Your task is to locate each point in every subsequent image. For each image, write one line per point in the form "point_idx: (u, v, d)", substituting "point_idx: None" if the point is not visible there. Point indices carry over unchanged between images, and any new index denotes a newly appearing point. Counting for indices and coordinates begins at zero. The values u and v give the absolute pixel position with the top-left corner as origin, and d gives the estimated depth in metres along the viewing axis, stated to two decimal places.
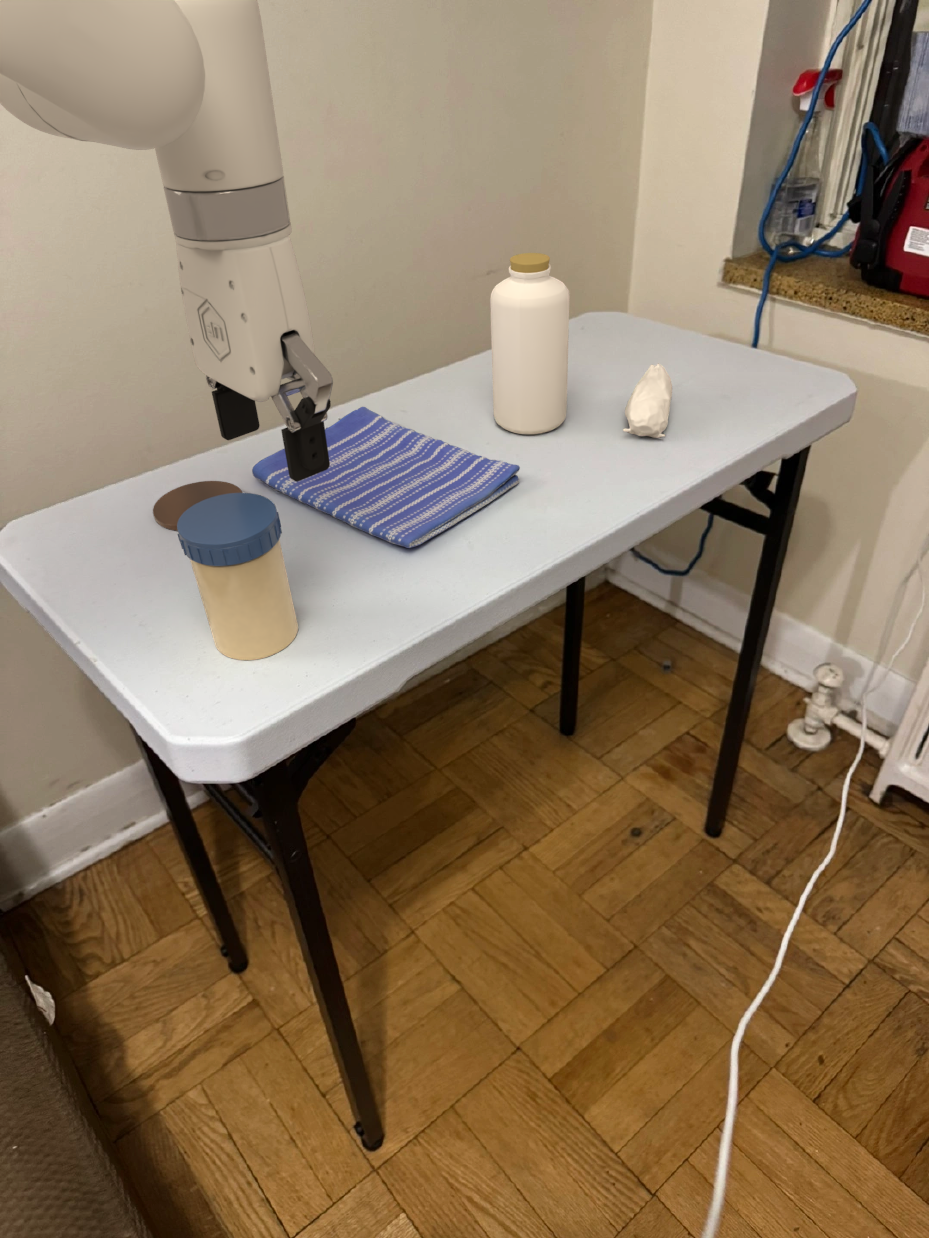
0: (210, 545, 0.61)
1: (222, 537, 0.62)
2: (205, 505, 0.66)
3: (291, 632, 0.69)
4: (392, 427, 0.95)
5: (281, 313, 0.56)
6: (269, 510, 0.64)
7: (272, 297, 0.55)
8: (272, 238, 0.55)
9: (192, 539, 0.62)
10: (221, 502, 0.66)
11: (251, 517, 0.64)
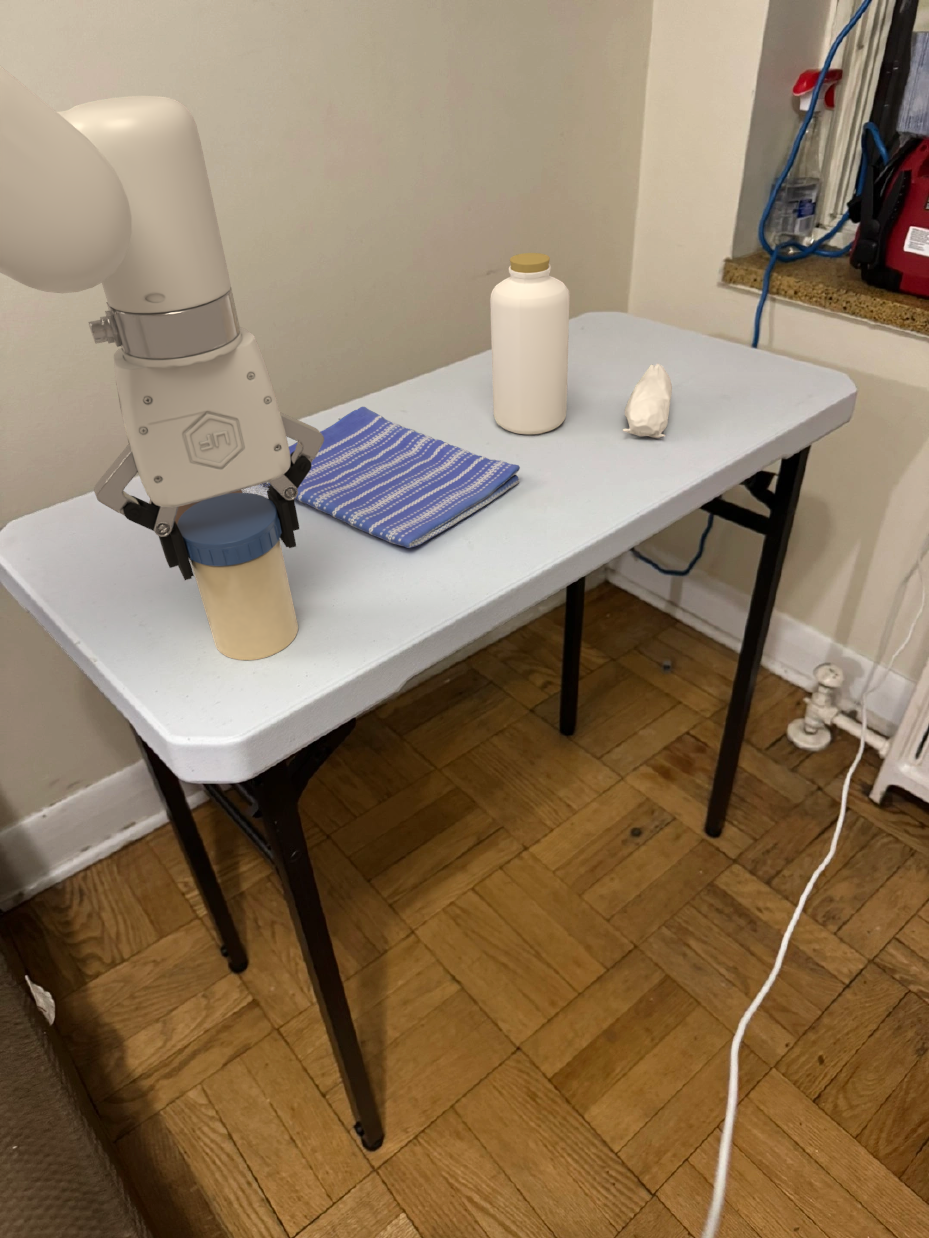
0: (210, 545, 0.61)
1: (222, 537, 0.62)
2: (205, 505, 0.66)
3: (291, 632, 0.69)
4: (392, 427, 0.95)
5: None
6: (269, 510, 0.64)
7: None
8: None
9: (192, 539, 0.62)
10: (221, 502, 0.66)
11: (251, 517, 0.64)
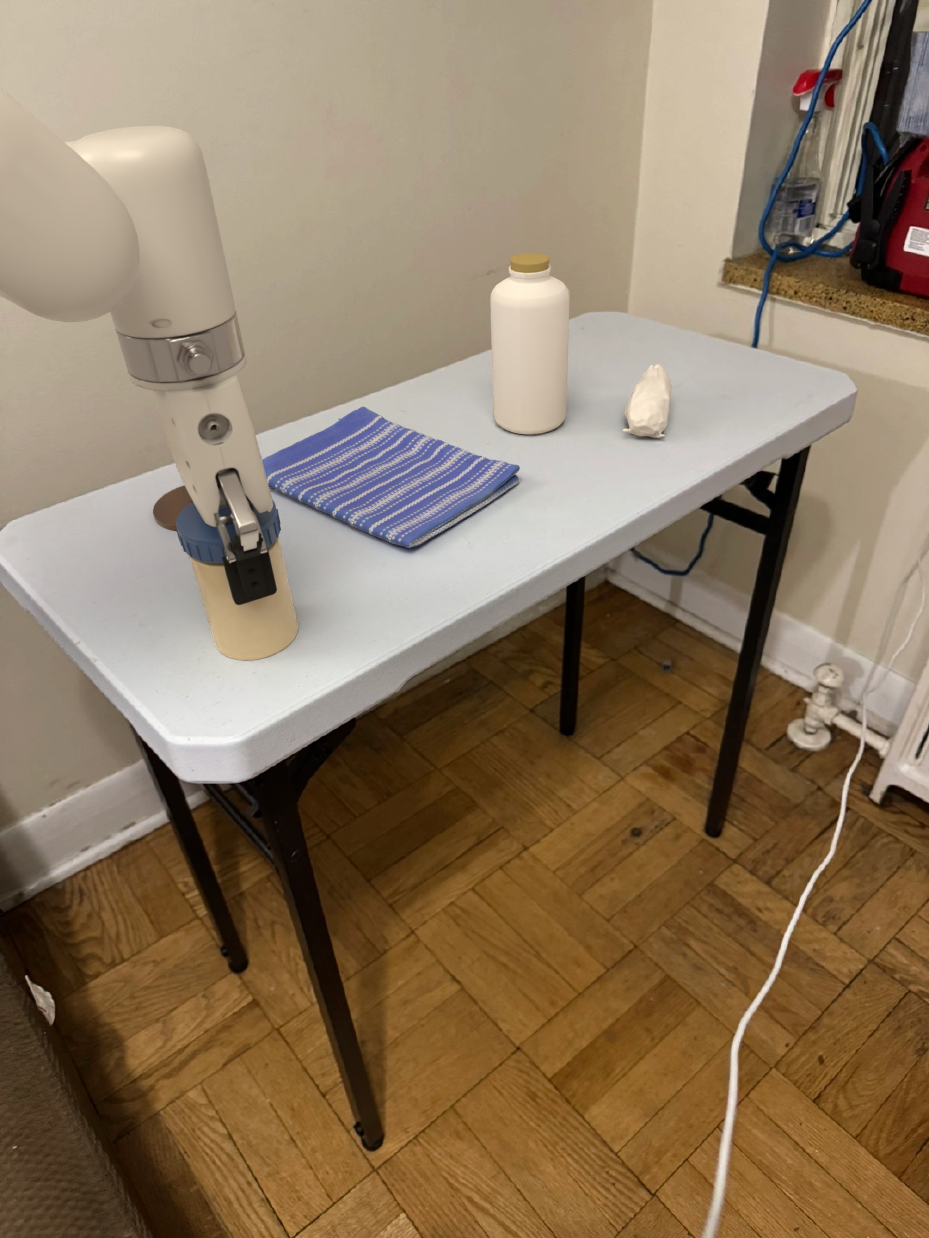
0: (273, 516, 0.63)
1: None
2: (194, 529, 0.62)
3: (291, 632, 0.69)
4: (392, 427, 0.95)
5: None
6: None
7: None
8: None
9: None
10: (193, 521, 0.63)
11: None
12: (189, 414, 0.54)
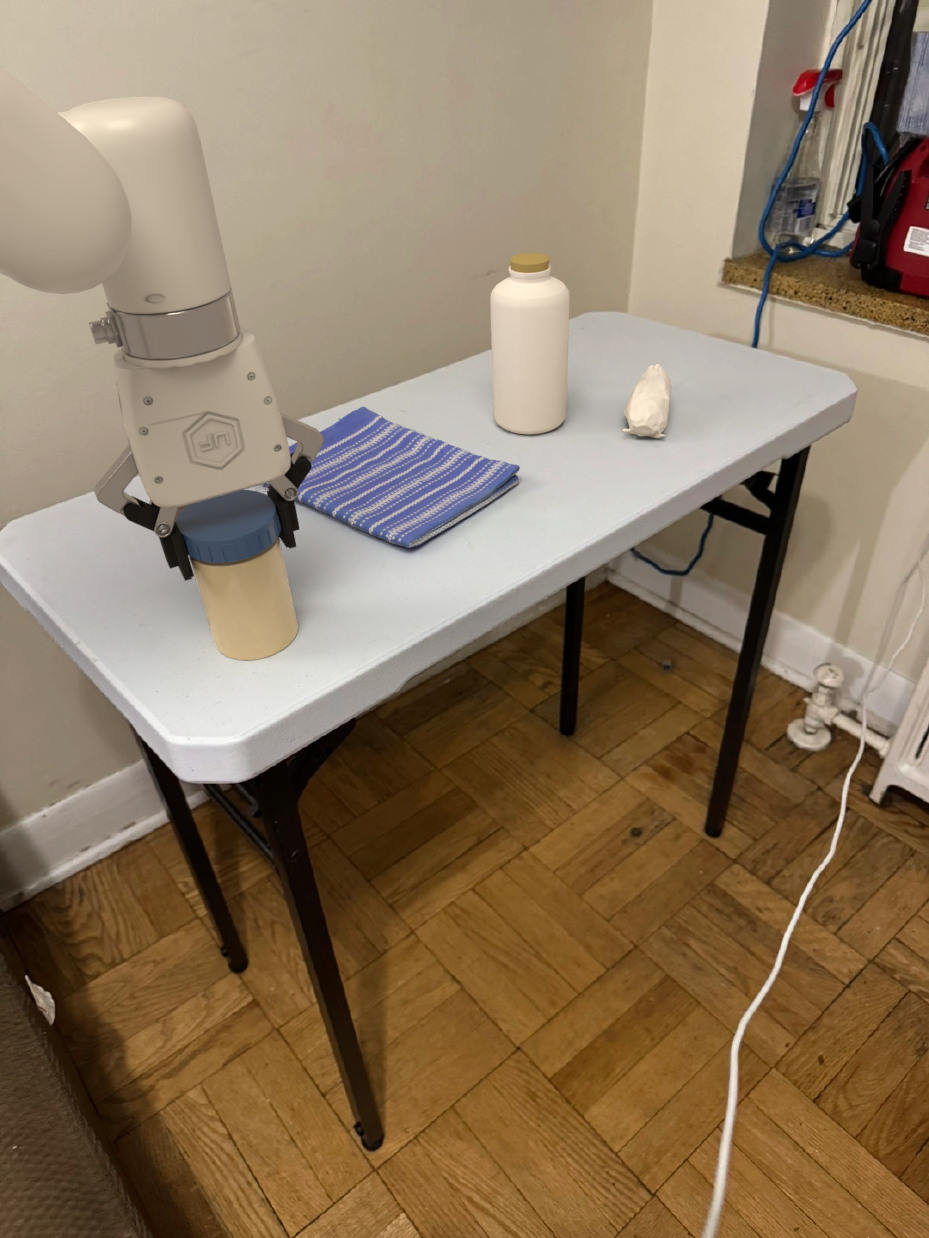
0: (273, 516, 0.63)
1: (264, 510, 0.64)
2: (194, 529, 0.62)
3: (291, 632, 0.69)
4: (392, 427, 0.95)
5: None
6: None
7: None
8: None
9: (259, 526, 0.62)
10: (193, 521, 0.63)
11: (234, 501, 0.65)
12: None
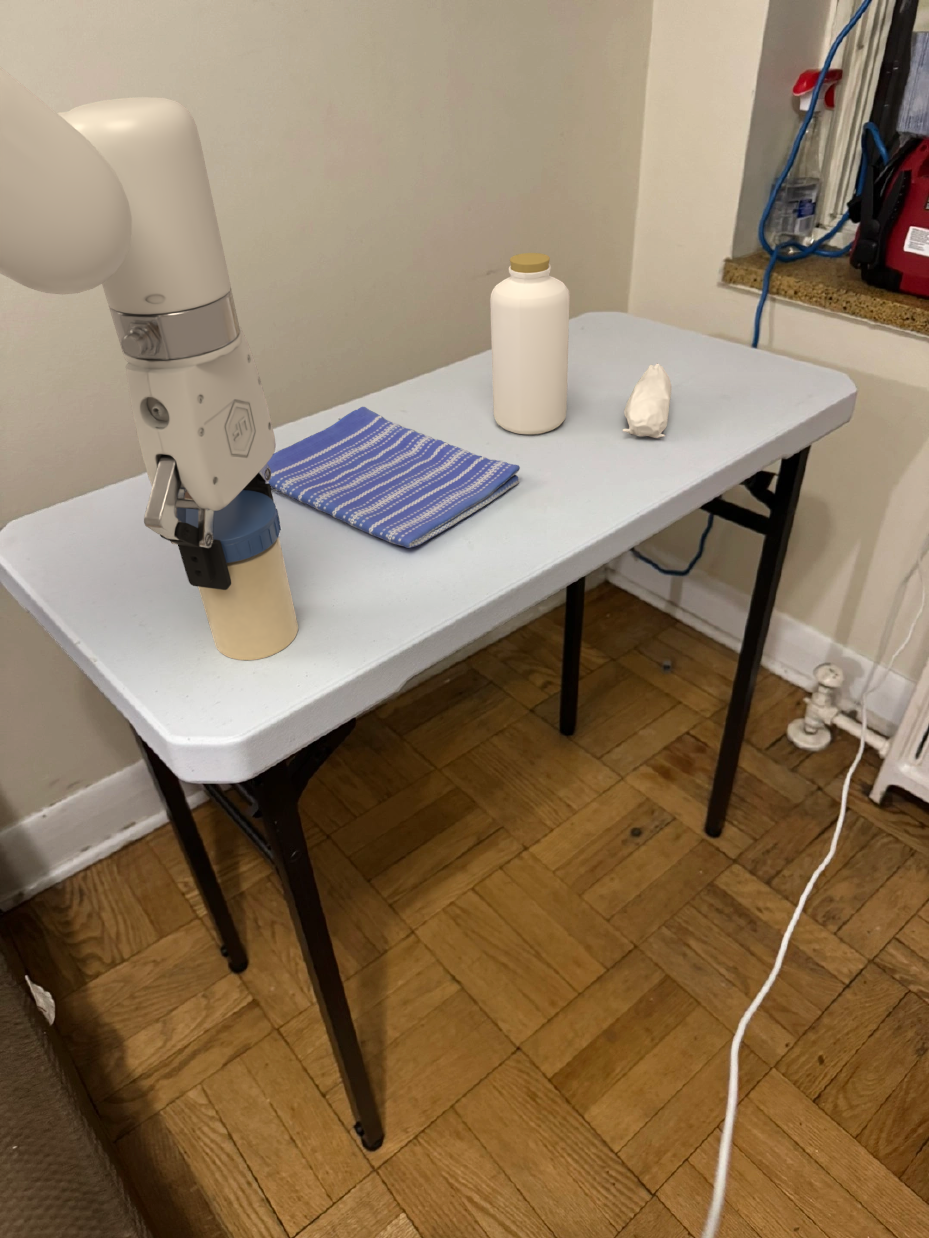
0: (269, 497, 0.66)
1: (254, 498, 0.66)
2: (220, 534, 0.62)
3: (291, 632, 0.69)
4: (392, 427, 0.95)
5: None
6: None
7: None
8: None
9: (272, 507, 0.64)
10: None
11: None
12: (134, 391, 0.54)
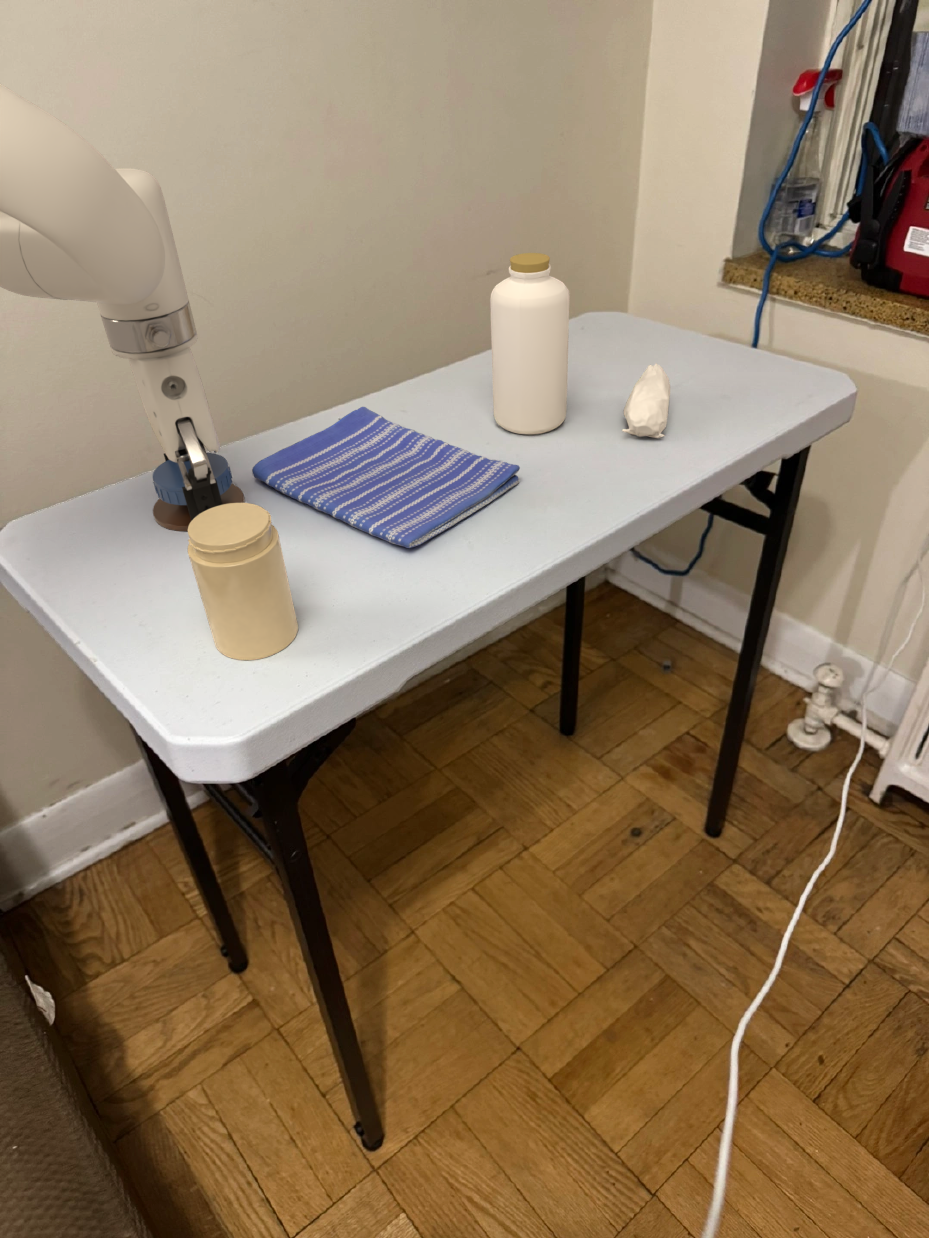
0: None
1: None
2: None
3: (291, 632, 0.69)
4: (392, 427, 0.95)
5: None
6: (157, 474, 0.85)
7: None
8: None
9: (216, 455, 0.87)
10: None
11: (172, 469, 0.85)
12: (154, 376, 0.74)
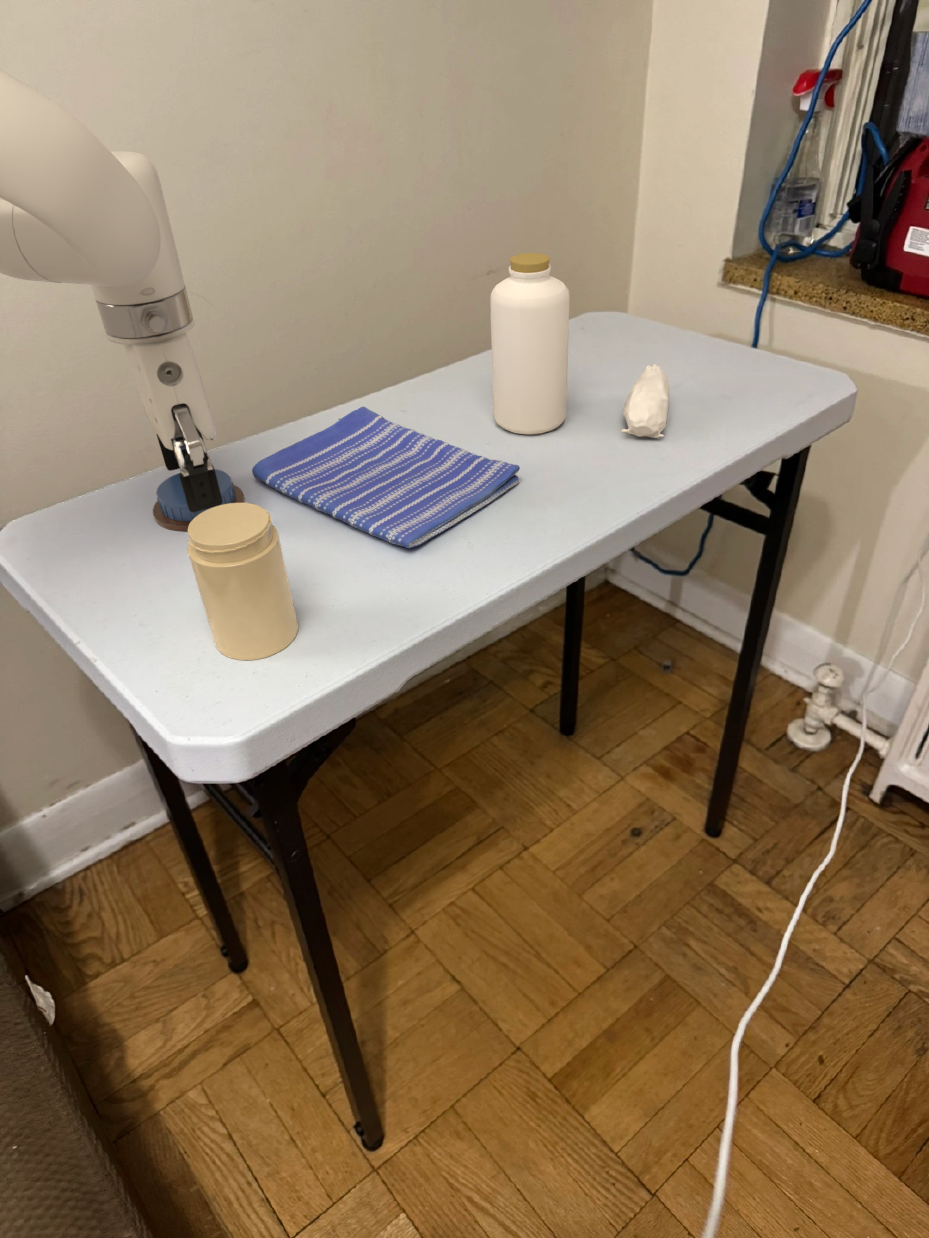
0: None
1: None
2: None
3: (291, 632, 0.69)
4: (392, 427, 0.95)
5: None
6: (161, 490, 0.86)
7: None
8: None
9: (219, 471, 0.88)
10: None
11: (176, 485, 0.86)
12: (150, 362, 0.74)
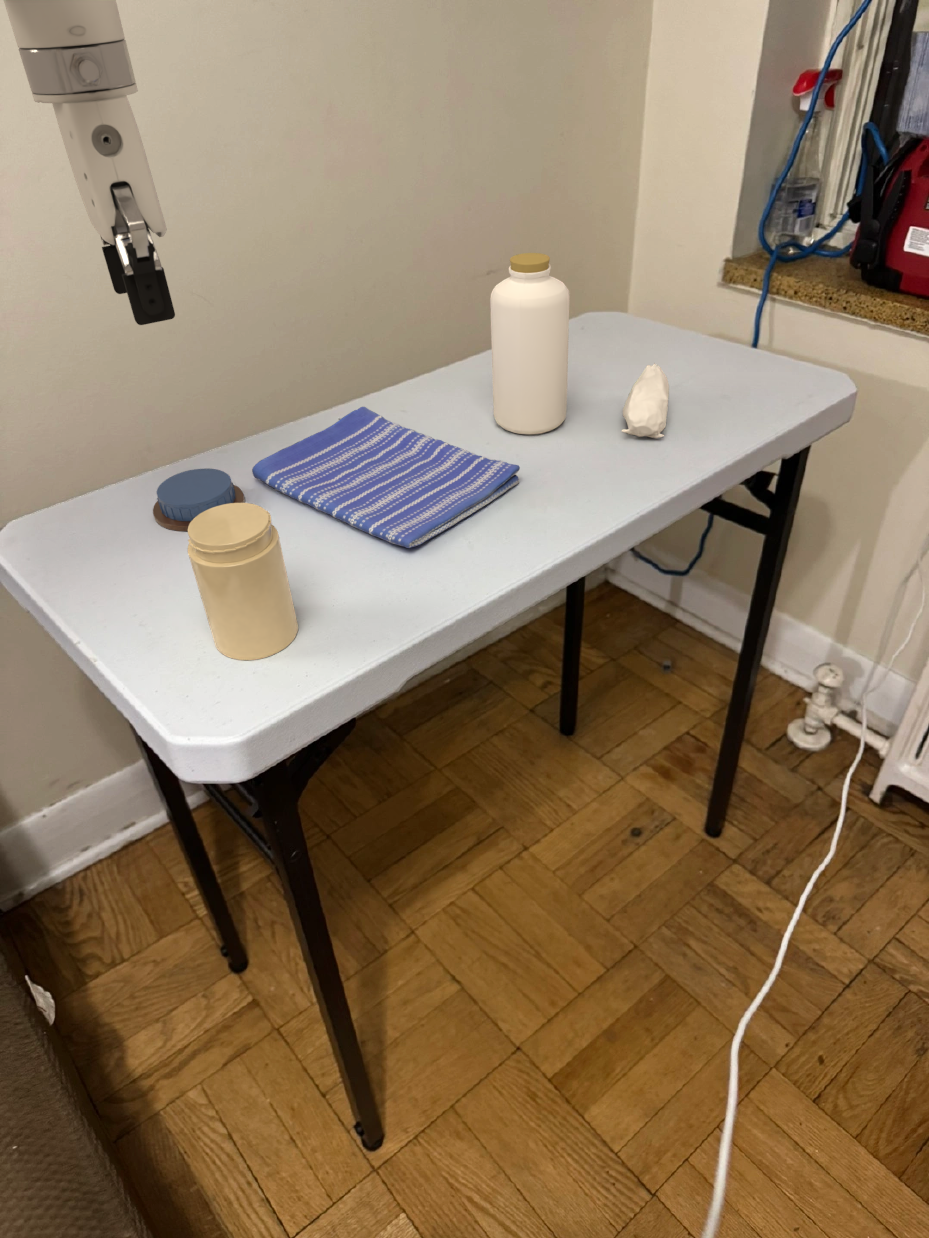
0: (207, 469, 0.89)
1: (198, 472, 0.88)
2: (209, 494, 0.84)
3: (291, 632, 0.69)
4: (392, 427, 0.95)
5: None
6: (161, 490, 0.86)
7: None
8: None
9: (219, 471, 0.88)
10: (197, 496, 0.84)
11: (176, 485, 0.86)
12: (83, 123, 0.63)
